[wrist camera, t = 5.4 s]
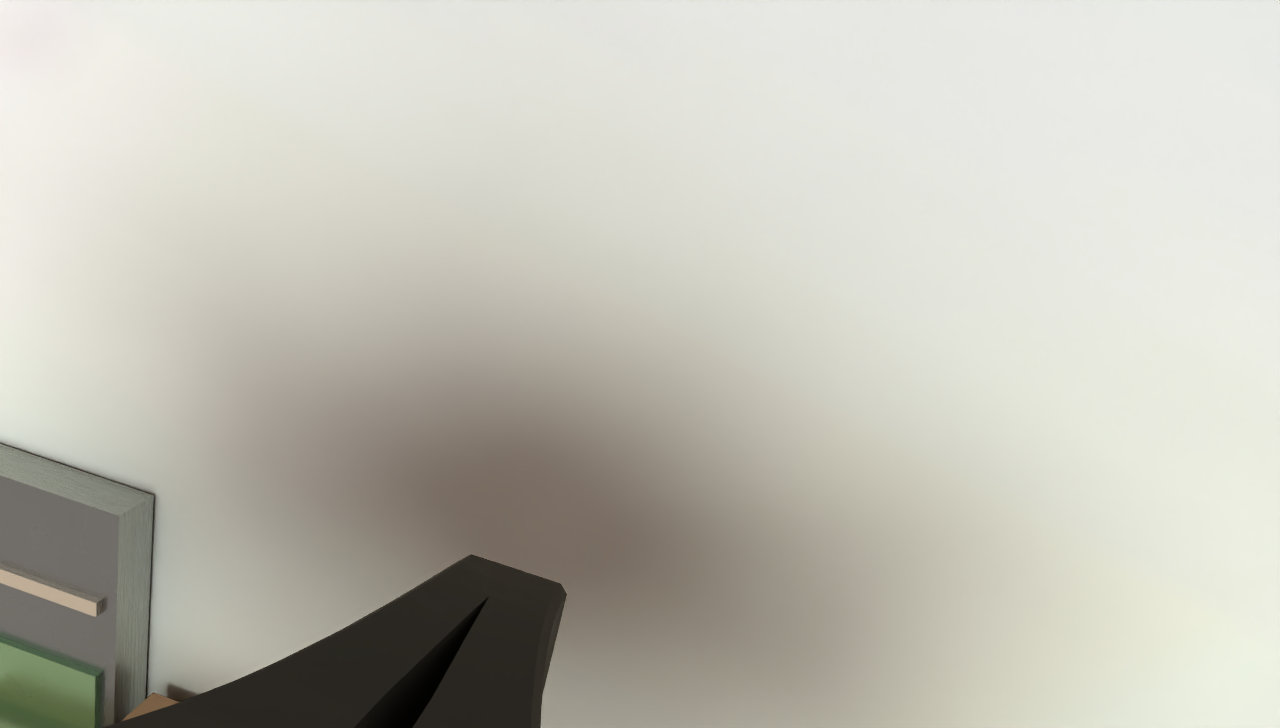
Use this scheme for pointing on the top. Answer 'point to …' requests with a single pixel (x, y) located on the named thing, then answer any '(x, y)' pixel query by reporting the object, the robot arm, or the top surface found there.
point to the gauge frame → (71, 595)
